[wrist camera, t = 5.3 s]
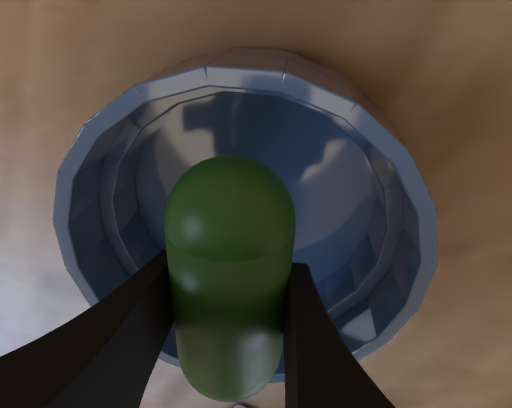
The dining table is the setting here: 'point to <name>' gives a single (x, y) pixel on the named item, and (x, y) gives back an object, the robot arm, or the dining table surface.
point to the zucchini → (229, 273)
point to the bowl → (274, 157)
